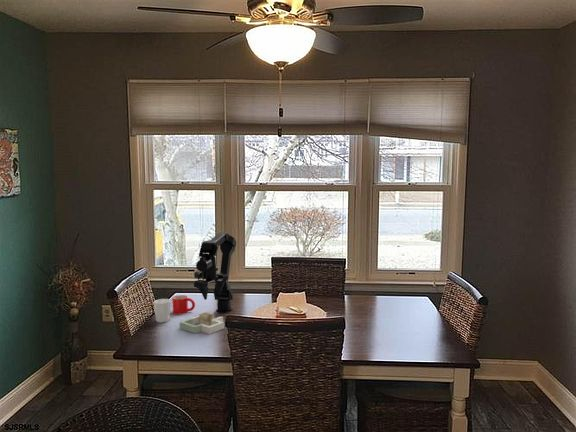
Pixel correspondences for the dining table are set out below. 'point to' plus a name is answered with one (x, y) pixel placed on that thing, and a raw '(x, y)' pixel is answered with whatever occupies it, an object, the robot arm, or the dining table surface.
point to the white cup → (162, 310)
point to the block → (206, 318)
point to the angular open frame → (202, 325)
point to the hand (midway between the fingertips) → (212, 297)
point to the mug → (182, 304)
